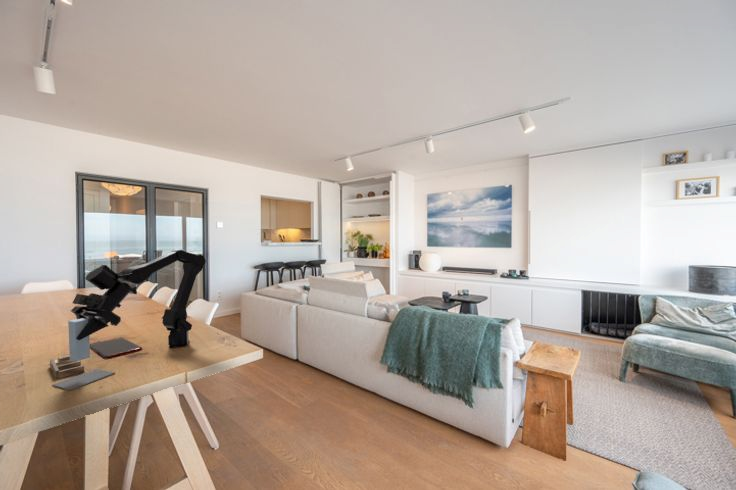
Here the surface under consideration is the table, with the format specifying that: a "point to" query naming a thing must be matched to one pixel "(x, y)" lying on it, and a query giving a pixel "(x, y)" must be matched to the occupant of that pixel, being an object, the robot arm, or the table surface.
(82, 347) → the block
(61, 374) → the rack
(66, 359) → the offcut stack
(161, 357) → the table surface
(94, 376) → the mat
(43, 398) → the table surface
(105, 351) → the smartphone
